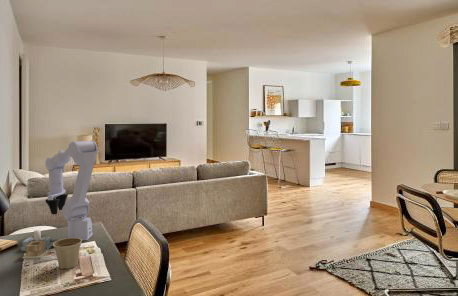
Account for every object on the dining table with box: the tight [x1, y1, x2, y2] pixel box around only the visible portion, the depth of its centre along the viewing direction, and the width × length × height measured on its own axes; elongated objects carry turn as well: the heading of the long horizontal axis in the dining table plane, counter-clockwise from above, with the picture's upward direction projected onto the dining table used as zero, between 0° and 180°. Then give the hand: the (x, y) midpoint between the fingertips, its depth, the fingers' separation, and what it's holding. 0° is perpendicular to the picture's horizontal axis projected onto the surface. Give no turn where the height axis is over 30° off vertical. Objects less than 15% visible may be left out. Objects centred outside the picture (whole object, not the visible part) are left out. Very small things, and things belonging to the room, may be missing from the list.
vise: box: [20, 229, 59, 252], centre depth 143 cm, size 13×7×7 cm, turn 93°
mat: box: [21, 249, 50, 259], centre depth 135 cm, size 7×7×1 cm
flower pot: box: [52, 237, 83, 270], centre depth 124 cm, size 9×9×9 cm
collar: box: [25, 241, 46, 256], centre depth 135 cm, size 5×5×4 cm
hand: (57, 212), depth 162 cm, fingers open, 7 cm apart
